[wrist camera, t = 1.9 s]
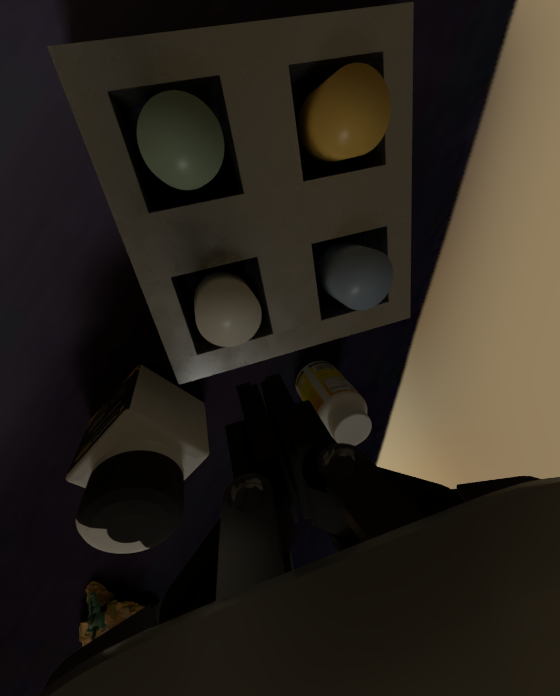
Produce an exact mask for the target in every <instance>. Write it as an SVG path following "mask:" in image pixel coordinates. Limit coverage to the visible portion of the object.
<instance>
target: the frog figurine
mask: <svg viewBox="0 0 560 696" xmlns="http://www.w3.org/2000/svg"><path fill="white" fill-rule="evenodd" d="M85 591H86V593H87V600H86V602H87V603H88V605H89V607H88V610H89V611H87V612H89V615H88V618H89V617H90V619H87V618H86V620H88V621H87V622H81V623H80V624H81V626H80V627H79V636H80V638H79V641H81V642H82V645H83V646H85V645H86V644H88V643H89V642H91V641H92V640H94V639H96V638H97V637H99V636H100V635H102V634H103V633H105V632H106V631H108V630H110V629H111V628H113V627H114V626H116V625H117V624H119V623H120V622H122V621H124V620H125V619H127V618H128V617H130V616H131V615H133V614H135V613H136V612H138V611H139V610H141V609H142V608H144V606H140V605H138V603H134V602H133V601H132V602H129V601H124V602H118V601H117V600H116V599H115V600H113V601H111V602H110V600H111V599H113V598H114V595H116V593H113V594H112V593H111V592H108V590H106V587H105V586H103V584H102V585H101V584H100V583H98V582H95V581H91V582H90V584H89V585H88V586H87V588H86V589H85ZM109 603H110V604H109ZM100 604H101V605H100ZM106 604H107V609H106V611H105V612H104V613H103V611H104V610H105V609H104V610H103V611H100V610H101V606H105V608H106Z"/></svg>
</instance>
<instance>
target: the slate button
mask: <svg viewBox="0 0 560 696" xmlns="http://www.w3.org/2000/svg"><path fill="white" fill-rule="evenodd" d="M317 279H318V282H319V284H320V286H321V288H322V289H323V290H324V291H325V292H326V293H328V294H329V295H331V296H332V297H334V298H335V299H337V300H338V301H340V302H341V303H343V304H344V305H346V306H347V307H349V308H351V309H354V310H367V309H370V308H372V307H374V306H376V305H377V304H379V303H380V302H381V301H382V300H383V299H384V298H385V297H386V295H387V294H388V292H389V290H390V288H391V285H392V282H393V267H392V264H391V262H390V260H389V258H388V257H387V256H386V255H385V254H384V253H383V252H381V251H379V250H375V249H372V248H368V247H364V246H361V245H357V244H353V243H350V242H340V243H337V244H334V245H332V246H331V247H329V248H328V249H327V250H326V251H325V252H324V253H323V255H322V256H321V258H320V260H319V263H318V266H317Z"/></svg>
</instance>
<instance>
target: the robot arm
mask: <svg viewBox="0 0 560 696" xmlns="http://www.w3.org/2000/svg"><path fill="white" fill-rule="evenodd" d="M261 387H262V391H263V395H264V399H265V403H266V407H267V410H266V408H265V405H264V402H263V400H262V397H261V395H260V392H259V389H258V387H257V384H255V385H251V384H250V382H248V383H245V384H241V385H238V386H236V388H237V391H238V395H239V399H240V403H241V406H242V410H243V414H244V418H245V420H242V421H239V422H236V423H233V424H229V425H226V426H225V429H226V435H227V440H228V446H229V452H230V458H231V464H232V470H233V476H234V480H233V481H232V482H231V483H230V484H229V485H228V486H227V487H226V489H225V491H224V492H223V496H222V502H221V518H220V519H219V521H218V522H217V523H216V525H215V526H214V527H213V529H212V530H211V532H210V533H209V534H208V536H207V537H206V538H205V540H204V541H203V543H202V544H201V545H200V547H199V548H198V549H197V551H196V552H195V554H194V555H193V556H192V558H191V559H190V560H189V562H188V563H187V565H186V566H185V567H184V569H183V570H182V571H181V573H180V574H179V576H178V577H177V578H176V580H175V581H174V582H173V584H172V585H171V587H170V588H169V590H168V591H167V593H166V595H165V597H164V598H163V601H161V602H160V603H158V604H157V605H155V606H152V604H151V603H150V604H149V605H147V606H145V607H144V608H142V609H141V610H139V611H138V612H136V613H135V614H133V615H131V616H130V617H128V618H127V619H125V620H124V621H122V622H120V623H119V624H117V625H116V626H114V627H113V628H111V629H110V630H108V631H106V632H105V633H103V634H102V635H100V636H99V637H97V638H96V639H94V640H92V641H91V642H89V643H88V644H86V645H85V646H83V647H82V648H80V649H78V650H77V651H75V652H74V653H72V654H71V655H70V656H68V657H67V658H66V659H65V660H64V661H62V662H61V663H60V664H59V666H58V667H57V668H56V669H55V671H54V672H53V673H52V674H51V676H50V677H49V679H48V681H47V683H46V685H45V687H44V689H43V690H42V692H40V693H39V694H38V695H37V696H560V477H556V478H547V479H539V478H535V477H532V476H518V477H511V478H503V479H496V480H488V481H481V482H474V483H467V484H459V485H457V489H449V488H448V487H445V486H443V485H440V484H437V483H434V482H429V481H426V480H423V479H419V478H416V477H412V476H409V475H405V474H401V473H398V472H394V471H391V470H387V469H384V468H380V467H377V466H376V465H375V464H374V463H373V462H372V461H371V460H370V459H369V458H368V457H367V456H366V455H365V454H364V453H363V452H362V451H361V450H360V449H359V448H357V447H356V446H353V445H351V444H346V443H335V441H334V439H333V438H332V436H331V435H330V433H329V431H328V430H327V428H326V426H325V425H324V423H323V421H322V420H321V418H320V417H319V415H318V413H317V412H316V410H315V408H314V407H313V405H312V404H311V402H310V401H309V400H306V401H302V402H299V403H296V404H295V403H294V401H293V399H292V397H291V395H290V393H289V391H288V389H287V388H286V386H285V384H284V382H283V380H282V378H281V376H280V375H279V373H278V374H275V375H272V376H268V377H265V382H261ZM267 411H268V413H267ZM268 415H269V416H268ZM290 483H291V485H290ZM291 486H292V489H293V491H294V494H295V497H296V500H297V502H298V505H299V508H300V510H301V513H302V516H303V518H304V519H307V518H309V517H310V520H311V522H312V525H313V527H317V528H319V529H322V530H324V531H327V532H329V535H330V538H331V540H332V542H333V544H334V545H335V547H336V548H337V550H338V552H337V553H334V554H332V555H329V556H327V557H324V558H322V559H319V560H317V561H314V562H312V563H309V564H307V565H304V566H302V567H299V568H297V569H294V570H293V566H292V559H291V554H290V548H291V546H292V544H293V542H294V540H295V538H296V536H297V532H296V528H295V524H294V523H296V522H299V519H298V515H297V510H296V506H295V502H294V498H293V494H292V489H291Z"/></svg>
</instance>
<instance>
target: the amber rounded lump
mask: <svg viewBox="0 0 560 696" xmlns="http://www.w3.org/2000/svg"><path fill="white" fill-rule="evenodd" d="M390 113H391V100H390V94H389V90H388V87H387V85H386V82H385V81H384V79H383V77H382V76H381V74H380V73H379V72H378V71H377V70H376V69H374V68H373V67H371V66H370V65H367V64H364V63H351V64H348V65H345V66H343V67H342V68H340V69H339V70H338V71H336V72H335V73H334V74H333V75H332V76H330V77H329V78H328V79H327V80H326V81H324V82H323V83H322V84H321V85H320V86H318V87H317V88H316V89H315V90H314V91H312V92H311V93H310V94H309V95H308V97H307V98H306V99H305V101H304V103H303V105H302V107H301V110H300V114H299V120H298V130H299V136H300V139H301V142H302V145H303V146H304V148H305V150H306V151H307V153H308V154H309V155H310V156H311V157H313V158H314V159H316V160H318V161H320V162H325V163H330V162H335V161H340V160H344V159H348V158H352V157H356V156H360V155H364V154H366V153H368V152H369V151H371V150H372V149H373V148H375V147H376V146H377V144H378V143H379V142H380V141H381V139H382V138H383V136H384V134H385V132H386V130H387V127H388V124H389V120H390Z"/></svg>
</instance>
